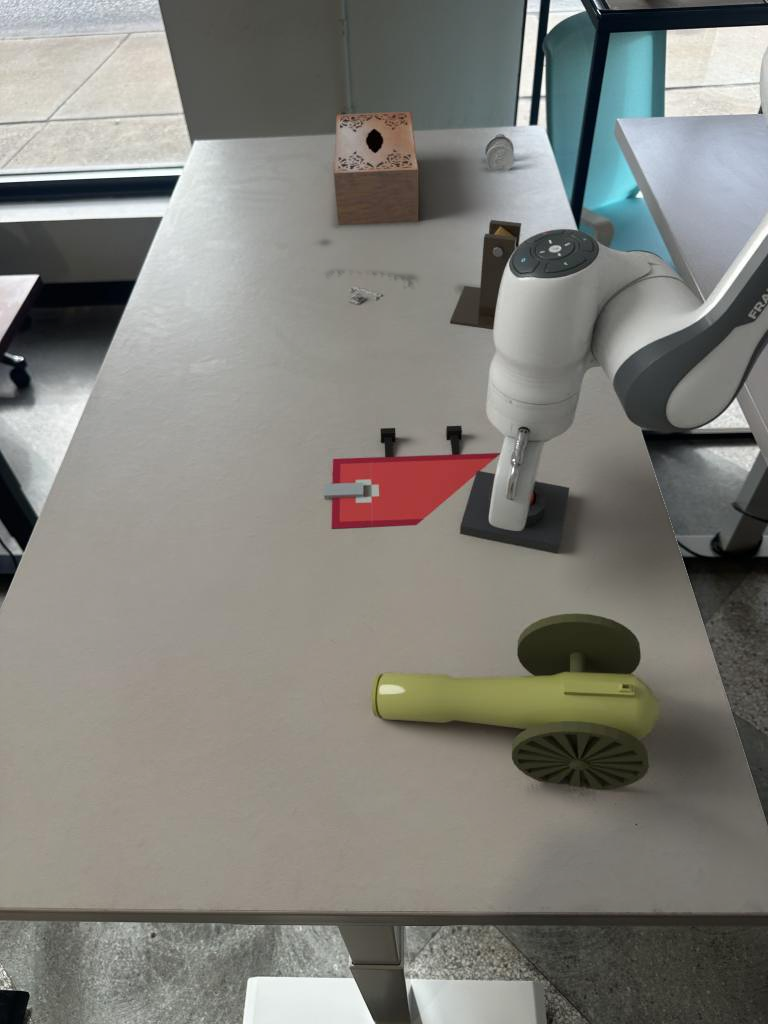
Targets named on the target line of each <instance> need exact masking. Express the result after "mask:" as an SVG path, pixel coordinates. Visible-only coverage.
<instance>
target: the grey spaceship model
mask: <svg viewBox="0 0 768 1024" xmlns="http://www.w3.org/2000/svg"><path fill="white" fill-rule="evenodd" d="M347 291H348V292H349V293H353V292H354V291H358V292H356V293H354V294H353V295H352V296H351V299H350V300H348V302H349V303H352V304H355V305H358V306H359V305H361V304H362V303H363V302H364V301H365V300H366V298H365V297H363V294H361V293H360V292H362V293H364V294H367V295H370V296H373V298H372V300H374V301H378V300H379V299H380V298H381V297H382V296H383V294H381V293H378V292H375V291H372V290H369V289H366V288H362V287H360V286H356V285H352V287H351V288H349V290H347Z"/></svg>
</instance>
